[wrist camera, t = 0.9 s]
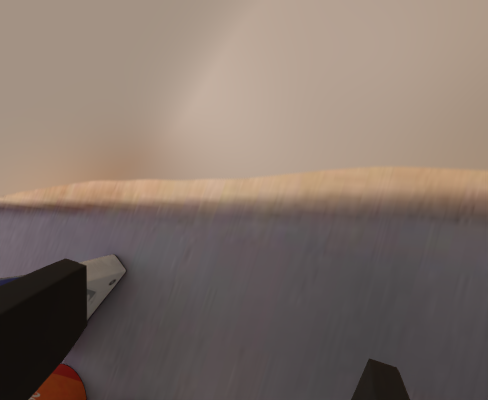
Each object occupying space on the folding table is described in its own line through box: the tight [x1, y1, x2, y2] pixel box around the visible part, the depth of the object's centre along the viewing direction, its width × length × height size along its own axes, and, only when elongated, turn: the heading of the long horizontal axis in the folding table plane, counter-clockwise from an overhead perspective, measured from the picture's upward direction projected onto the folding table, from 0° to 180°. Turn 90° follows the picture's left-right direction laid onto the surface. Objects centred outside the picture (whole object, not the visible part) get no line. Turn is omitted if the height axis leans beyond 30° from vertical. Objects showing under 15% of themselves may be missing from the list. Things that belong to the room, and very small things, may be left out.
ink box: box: [0, 254, 126, 320], centre depth 33 cm, size 12×2×12 cm, turn 137°
